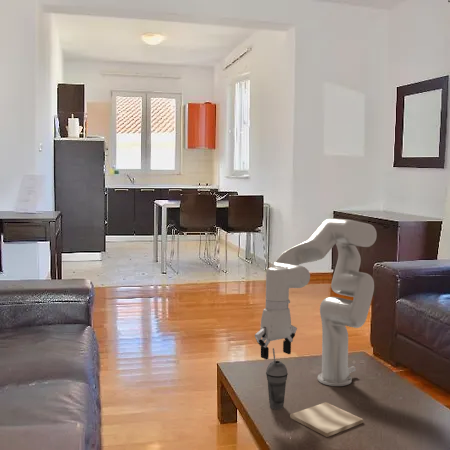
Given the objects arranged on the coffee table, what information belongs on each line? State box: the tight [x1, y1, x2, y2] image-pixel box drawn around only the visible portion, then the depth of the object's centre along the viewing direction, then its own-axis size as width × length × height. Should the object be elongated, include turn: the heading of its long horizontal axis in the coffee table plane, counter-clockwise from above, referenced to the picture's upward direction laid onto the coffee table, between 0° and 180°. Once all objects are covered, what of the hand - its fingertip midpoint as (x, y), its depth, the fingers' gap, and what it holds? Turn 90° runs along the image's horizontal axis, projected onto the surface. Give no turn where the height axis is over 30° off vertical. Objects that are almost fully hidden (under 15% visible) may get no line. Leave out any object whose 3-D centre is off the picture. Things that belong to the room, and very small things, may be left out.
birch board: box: [289, 401, 364, 438], centre depth 177 cm, size 16×16×1 cm
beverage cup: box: [265, 347, 289, 411], centre depth 187 cm, size 7×7×20 cm
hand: (275, 355), depth 186 cm, fingers open, 9 cm apart
